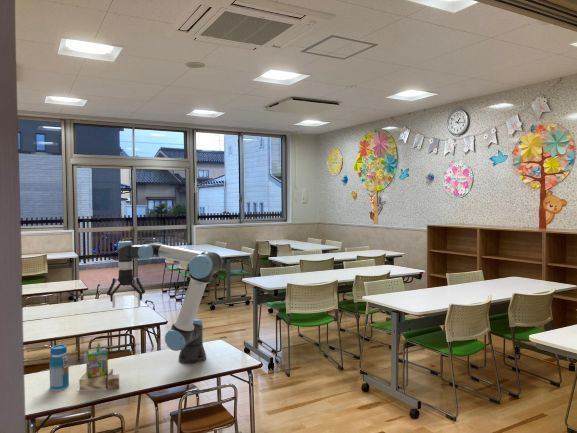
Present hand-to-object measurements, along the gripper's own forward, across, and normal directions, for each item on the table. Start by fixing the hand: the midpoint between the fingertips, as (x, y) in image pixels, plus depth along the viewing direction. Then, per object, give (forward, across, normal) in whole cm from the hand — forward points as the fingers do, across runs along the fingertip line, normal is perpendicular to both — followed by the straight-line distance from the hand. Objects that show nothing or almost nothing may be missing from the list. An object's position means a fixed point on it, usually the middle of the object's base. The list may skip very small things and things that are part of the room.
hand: (126, 306), depth 246 cm
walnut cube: (+31, 0, +36) cm, 47 cm away
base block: (+31, +9, +30) cm, 44 cm away
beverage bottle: (+31, +26, +31) cm, 51 cm away
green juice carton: (+26, +8, +30) cm, 41 cm away
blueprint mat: (+31, +6, +28) cm, 42 cm away
